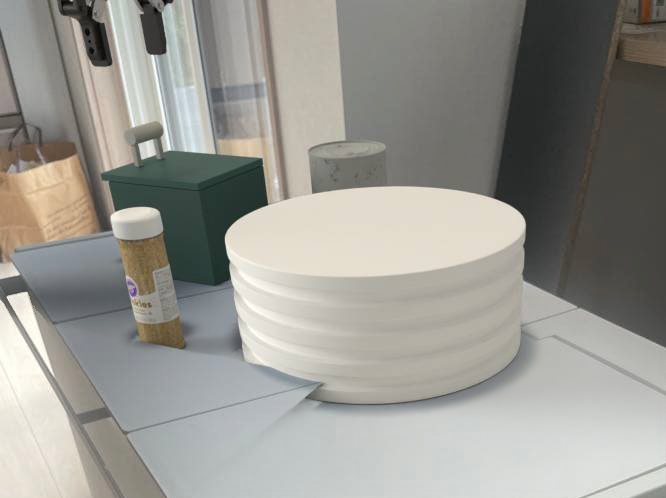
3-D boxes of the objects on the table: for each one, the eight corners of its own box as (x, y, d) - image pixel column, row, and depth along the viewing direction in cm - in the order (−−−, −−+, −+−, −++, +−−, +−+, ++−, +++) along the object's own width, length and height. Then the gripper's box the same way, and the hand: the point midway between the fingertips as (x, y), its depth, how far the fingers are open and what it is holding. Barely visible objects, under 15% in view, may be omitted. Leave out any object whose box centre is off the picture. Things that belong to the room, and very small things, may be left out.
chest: (129, 272, 105) (107, 181, 99) (192, 242, 114) (176, 157, 108) (215, 286, 100) (199, 191, 94) (275, 254, 109) (263, 165, 103)
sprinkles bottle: (132, 352, 85) (98, 215, 77) (163, 335, 89) (134, 203, 81) (166, 360, 84) (134, 221, 76) (196, 343, 87) (169, 208, 79)
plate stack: (578, 352, 81) (590, 231, 74) (322, 435, 70) (307, 302, 63) (423, 274, 101) (420, 172, 94) (202, 329, 89) (181, 218, 83)
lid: (101, 180, 99) (90, 134, 96) (170, 156, 108) (162, 114, 105) (199, 190, 94) (190, 142, 91) (263, 164, 103) (257, 120, 100)
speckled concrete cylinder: (305, 260, 107) (294, 156, 99) (334, 237, 114) (325, 138, 106) (376, 265, 104) (370, 159, 97) (400, 241, 111) (396, 141, 104)
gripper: (112, -137, 84) (146, 50, 93) (1, -141, 73) (53, 69, 83) (172, -141, 81) (201, 52, 91) (66, -147, 71) (112, 71, 80)
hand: (130, 60), depth 87 cm, fingers open, 8 cm apart
